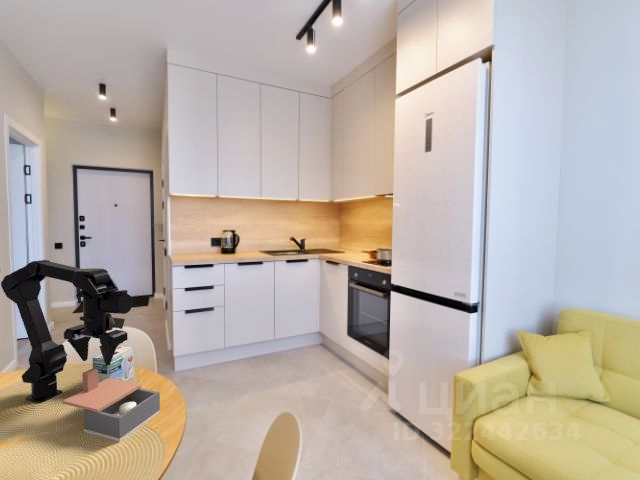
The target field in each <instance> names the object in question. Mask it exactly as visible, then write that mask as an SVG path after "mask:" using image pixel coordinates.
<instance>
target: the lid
mask: <svg viewBox="0 0 640 480" xmlns="http://www.w3.org/2000/svg"><path fill="white" fill-rule="evenodd" d="M81 374H82V375H81V377H82V379H81V380H82V390H81V391H79V392H78V393H76V394H73V395H71V396H69V397H68V398H65V399H63V400H62V404H63V405H67V406H70V407H74V408H78V409H82V410H84V409H86V410H89V411H93V412H97V413H98V412H100V411H102V410H103V409H105V408H107V407H109V406H110V405H112V404H114V403H115V402H117V401H119V400H120V399H122V398H124V397H125V396H127V395H129V394H131V393H132V392H134V391H136V390H137V389H139V388H142V384H141V383H138V382H137V383H136V382H132V381H123V380H118V379H113V378H107V379H105V380H103V381H101V382H99V383H98V369H93V368H91V369H88V370H86V371H83V372H82V373H81Z"/></svg>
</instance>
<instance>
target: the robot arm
mask: <svg viewBox="0 0 640 480" xmlns="http://www.w3.org/2000/svg"><path fill="white" fill-rule="evenodd" d="M46 278H52V279H55V280H60V281H63V282H67V283H68V282H69V283H71V284H72V285H73V286H74V287H75V288H77V289H79V290H80V291H79V292H78V293H77V294H76V295H75V297H77V298H82V310H83V311H82V312H83V313H82V314H83V315H82V316H79V321H82V322H83V324H79V325H75V326H72V327H68V328H66V329H65V330H64V332H63V339H64V340H67V343H69V344H70V346H71V347H72V348H73V349H74V350H75V352H76V354H77V355H78V356H79V357H80V359H81V360H82V362H86V361H87V360H88V359H89V358H88V357H89V342H90V340H91V338H92V339H93V338H94V339H99V343H100V345H99V350H100V352H101V353H100V354H102V356H103V359H104V362H105V364H106V366H108V365H110V363H111V361H112V358H113V355H114V353H115V350H116V348H117V346H120V344H123V343H124V342H125V341H128V338H129V337H128V332H127V331H125V330H123V328H124V325H125V320H126V319H125V318H122V317H121V318H120V317H114V316H113V317H112V314H119V315H121V314H122V315H125V314H127V313H129V312H130V311H131V309H132V308H133V304H134V300H133V298H132V296H131V295H130V294H128V290H127V289H122V290H121V289H120V290H119V287H118V286H117V284H116V283H115V282H114V280H113V278H111V275H110V273H109V271H108V270H107V269H106V268H79V267H77V266H71V265H66V264H61V263H58V262H53V261H50V260H47V259H41V260H32V261H31V262H29V263H27V264H26V265H25V266H23V267H21V268H18V269H17V270H14V271H13V272H11V273H10V274H7V275H4V277H3V278H2V281H1V282H0V286H1V289H2V291H3V293H4V294H5V296H6V298H7V299H9V300H11V302H13V303H15V304H16V306H17V309H18V312H19V315H20V318H21V320H22V322H23V323H22V324H23V326H24V328H25V332H26V335H27V338H28V341H29V343H30V346H31V350H30V355H29V357H28V365H29V367H28V368H27V369H26V371H25V372H24V373H22V375H21V380H22V381H23V383H26V384H30V386H31V387H30V388H31V394H30V395H28V396H26V397H25V400H28V401H32V402H35V403H38V404H39V403H43V402H45V401H47V400H49V399H52V398H53V397H56V396H57V395H60V394H62V393H63V390H61V389H58V381H57V379H58V378H57V374H59V373H61V372H63V371H64V367H65V365H66V362H67V361H68V357H67V356H68V353H67V352H66V349H65V345H64V344H63V343H61V344H57V343H56V342H54V340H53V339H52V335H51V332H50V329H49V326H48V324H47V321H46V317H45V315H44V312H43V310H42V307H41V303H40V300H39V295H40V293H41V289H42V285H41V282H43V280H45V279H46ZM113 329H114V330H113Z"/></svg>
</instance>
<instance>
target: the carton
mask: <svg viewBox="0 0 640 480" xmlns="http://www.w3.org/2000/svg"><path fill="white" fill-rule="evenodd" d="M160 394H161V392H159V391H155V390H150V389H146V388H142V387H141V388H139V389H137V390H136V391H134V392H132V393H131V394H129V395H127V396H125V397H124V398H122V399H120V400H119V401H117V402H115V403H114V404H112V405H110V406H109V407H107V408H105V409H103V410H102V411H100V412H98V413H97V412H93V411H89V410H86V409H83V432H84V433H87V434H91V435H95V436H98V437H101V438H105V439H109V440H111V441H115V442H118V443H119V442H120V443H121V442H122V441H123V440H124V439H126V438H127V437H129V436H130V435H131V434H133V433H134V432H136V431H137V430H139V429H140V428H141V427H142V426H144V425H145V424H146V423H148V422H149V421H150V420H152V419H153V418H155V417H156V416H157V415H158V414H160V412H161V399H160V398H161V395H160Z"/></svg>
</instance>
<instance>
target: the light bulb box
mask: <svg viewBox="0 0 640 480" xmlns="http://www.w3.org/2000/svg"><path fill="white" fill-rule="evenodd" d="M134 355H135V353H134V347H130V346H122V345H118V346H117V348H116V350H115V353H114V355H113V358H112V361H111V363H110V365H108V366H106V364H105V362H104V359H103V356H102V353H100V354H98V355H95V356H93V357H92V358H91V359H92V369H98V383H99V382H101V381H103V380H105V379H107V378H113V379H118V380H123V381H128V382H130V380H132V379H134V378H135V371H134V370H135V359H134V358H135V357H134ZM133 377H134V378H133ZM131 378H132V379H131Z"/></svg>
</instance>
